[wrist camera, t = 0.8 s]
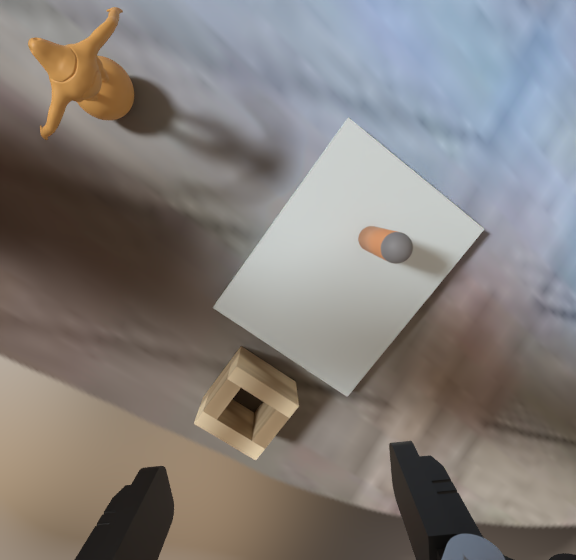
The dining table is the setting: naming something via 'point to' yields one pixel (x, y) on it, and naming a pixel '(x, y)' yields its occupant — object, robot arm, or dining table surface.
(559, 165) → the dining table surface
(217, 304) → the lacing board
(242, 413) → the square wooden ring
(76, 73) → the figurine
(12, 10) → the dining table surface
